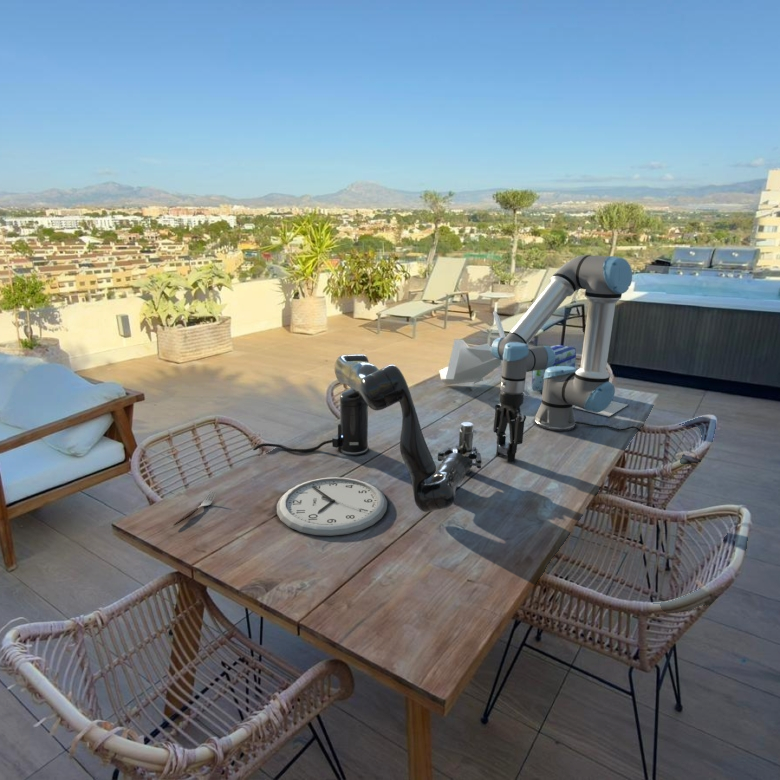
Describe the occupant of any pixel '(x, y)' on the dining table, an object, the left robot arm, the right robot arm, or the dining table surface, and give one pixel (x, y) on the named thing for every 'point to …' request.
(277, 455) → the dining table surface
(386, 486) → the dining table surface
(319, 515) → the wall clock
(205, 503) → the fork
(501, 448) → the lid
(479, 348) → the white plastic object
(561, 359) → the lunch box
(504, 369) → the right robot arm
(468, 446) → the silver metal cylinder
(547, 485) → the dining table surface
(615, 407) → the invitation card
